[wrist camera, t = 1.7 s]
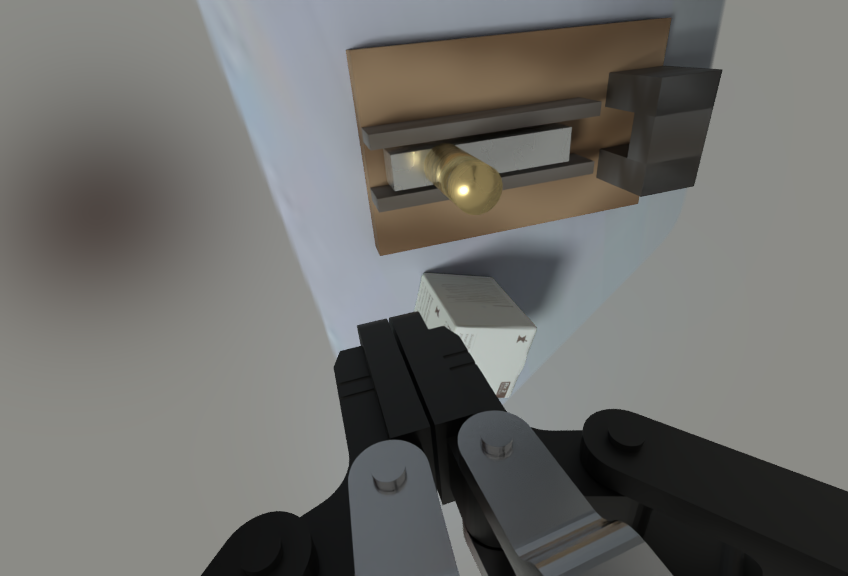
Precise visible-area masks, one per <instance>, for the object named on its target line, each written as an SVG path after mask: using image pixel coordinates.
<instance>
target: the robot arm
mask: <svg viewBox="0 0 848 576" xmlns="http://www.w3.org/2000/svg"><path fill="white" fill-rule="evenodd" d="M357 328H358V334H359V339H360V344H361V346H359V347H355V348H351V349H347V350H343V351H340V353H339V355H338V358H337V360H336V363H335V365H334V372H335V378H336V384H337V389H338V395H339V400H340V406H341V412H342V417H343V423H344V428H345V434H346V440H347V445H348V451H349V467H348V471H347V474H346V476H345V478H344V480H343V482H342V484H341V485H340V486H339V488H338V489H337V490H336V491H335V493H333V494H332V495H331V496H330V497H329V498H328V499H327V500H325V501H324V502H323V503H321V504H320V505H318V506H317V507H315V508H313V509H312V510H311V511H309V512H307V513H306V514H304V515H303V516H301V517H300V518H299V517H298V516H296V515H294V514H292V513H288V512H282V511H276V512H269V513H265V514H262V515H259V516H257V517H255V518H253V519H251V520H249V521H248V522H246V523H245V524H244V525H242V526H241V527H240V528H239V529H238V530H236V531H235V532H234V533H233V534H232V535H231V537H230V538H229V539H228V540H227V541H226V543H225V544H224V545H223V547H222V548H221V549H220V551H219V552H218V553H217V555H216V556H215V557H214V559H213V560H212V561H211V563H210V564H209V565H208V567H207V568H206V569H205V571H204V572H203V573H202V575H201V576H460V575H459V572H458V569H457V565H456V561H455V557H454V554H453V550H452V546H451V542H450V539H449V535H448V531H447V528H446V524H445V520H444V517H443V513H442V509H441V505H440V502H439V498H438V494H437V490H438V493H439V496H440V498H441V501H442V504H443V505H444V504H447V503H450V502H453V501H456V504H457V507H458V509H459V512H460V514H461V517H462V521H463V533H464V538H465V540H466V543H467V545H468V547H469V549H470V552H471V554H472V556H473V558H474V560H475V562H476V564H477V567H478V569H479V571H480V573H481V575H482V576H848V492H847V491H845V490H842V489H839V488H837V487H834V486H831V485H828V484H826V483H823V482H820V481H817V480H815V479H812V478H810V477H807V476H804V475H801V474H799V473H796V472H793V471H790V470H788V469H785V468H782V467H779V466H777V465H774V464H772V463H769V462H766V461H764V460H760V459H758V458H755V457H753V456H750V455H747V454H745V453H742V452H739V451H736V450H734V449H731V448H728V447H726V446H723V445H720V444H717V443H714V442H712V441H709V440H707V439H704V438H701V437H699V436H696V435H693V434H690V433H688V432H685V431H682V430H679V429H677V428H674V427H671V426H669V425H666V424H663V423H661V422H658V421H654V420H652V419H650V418H647V417H644V416H642V415H639V414H636V413H633V412H630V411H626V410H621V409H606V410H601V411H599V412H596V413H594V414H592V415H591V416H590V417H589V418H588V419H587V420H586V422H585V423H584V427H583V430H576V431H574V430H573V431H548V430H539V429H535V428H532V427H530V426H529V425H528V424H527V423H526V422H525V421H524V420H522V419H521V418H519V417H518V416H516V415H513V414H511V413H508V412H507V411H506V410H505V409H504V407H503V405H502V404H501V402H500V401H499V399H498V397H497V396H496V394H495V393H494V391H493V389H492V388H491V386H490V385H489V383H488V381H487V380H486V378H485V377H484V375H483V373H482V372H481V370H480V369H479V367H478V365H477V364H475V361H474V359H473V357H472V356H471V354H470V353H468V349H467V348H466V346H465V345H464V343H463V341H462V340H461V338H460V337H459V335H457V334H456V333H454V332H452V331H451V330H449V329H448V328H446V327H445V326H440V327H436V328H432V329H428V327H427V326H426V324H425V322H424V320H423V318H422V316H421V314H420V313H419V311H416V312H412V313H407V314H403V315H399V316H395V317H390V318H389V322H388V320H387V319H382V320H378V321H374V322H369V323H365V324H361V325H357Z"/></svg>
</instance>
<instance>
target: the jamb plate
mask: <svg viewBox="0 0 848 576" xmlns="http://www.w3.org/2000/svg"><path fill="white" fill-rule="evenodd" d="M670 23H671V18H658V19H646V20H637V21H627V22H617V23H607V24H597V25H587V26H578V27H568V28H558V29H548V30H538V31H528V32H519V33H509V34H499V35H489V36H479V37H469V38H460V39H450V40H440V41H430V42H420V43H410V44H400V45H391V46H381V47H371V48H361V49H351V50H346V54H347V61H348V67H349V74H350V80H351V87H352V93H353V100H354V107H355V113H356V120H357V126H358V133H359V139H360V146H361V153H362V159H363V166H364V172H365V179H366V185H367V192H368V199H369V205H370V212H371V218H372V225H373V231H374V238H375V245H376V248H377V250H378V252H379V255H380V256H383V255H388V254H393V253H397V252H402V251H407V250H412V249H417V248H422V247H427V246H432V245H437V244H442V243H447V242H452V241H457V240H462V239H466V238H471V237H476V236H481V235H486V234H491V233H496V232H501V231H506V230H511V229H516V228H521V227H526V226H530V225H535V224H540V223H545V222H550V221H555V220H560V219H565V218H570V217H575V216H580V215H585V214H590V213H595V212H599V211H604V210H609V209H614V208H619V207H624V206H629V205H634V204H638V201H639V196H640V197H642V196H647V195H652V194H657V193H662V192H667V191H672V190H677V189H682V188H687V187H692V186H694V183H695V180H696V176H697V172H698V168H699V164H700V159H701V155H702V151H703V147H704V143H705V139H706V135H707V131H708V127H709V123H710V119H711V114H712V110H713V106H714V102H715V98H716V94H717V90H718V86H719V82H720V78H721V74H722V70H719V69H705V68H690V67H674V66H663V62H664V57H665V51H666V46H667V40H668V34H669V29H670ZM549 123H560V124H563V125H566V126H570V127H572V131H571V142H570V153H569V161H567V162H561V163H555V164H550V165H544V166H538V167H532V168H527V169H521V170H515V171H509V172H503V173H499V174H500V176H501V179H502V183H503V188H502V194H501V197H500V199H499V201H498V202H497V204H496V205H495V206H494V207H493V208H492V209H491V210H489V211H488V212H486V213H484V214H481V215H470V214H467V213H465V212H463V211H462V210H461V209H460V208H459V207H458V206H457V205H455V204H454V203H453V202H452V201H451V200H450V199H449V198H448V197H447V196H446V195H444V194H443V193H442V192H441V191H440V190H439V189H438V188H437V187H436V186H435V185H428V186H422V187H417V188H411V189H405V190H399V191H394V190H393V188H392V187H391V186H390V185H389V183H388V182H387V176H386V169H385V161H384V153H383V149H384V148H391V147H397V146H404V145H411V144H417V143H424V142H430V141H437V140H444V139H450V138H457V137H464V136H470V135H477V134H483V133H490V132H497V131H503V130H510V129H516V128H523V127H530V126H536V125H543V124H549Z"/></svg>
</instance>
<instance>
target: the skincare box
mask: <svg viewBox="0 0 848 576" xmlns="http://www.w3.org/2000/svg"><path fill="white" fill-rule="evenodd" d="M416 311H419V313H420V314H421V316H422V318H423V320H424V322H425V324H426V326H427V327H428V329H432V328H436V327H440V326H445V327H446V328H448V329H449V330H451V331H452V332H454V333H456V334H457V335H459V337H460V338H461V340H462V341H463V343H464V345H465V346H466V348H467V349H468V353H470V354H471V356H472V357H473V359H474V361H475V364H477V365H478V367H479V369H480V370H481V372H482V373H483V375H484V377H485V378H486V380H487V381H488V383H489V385H490V386H491V388H492V389H493V391H494V393H495V394H496V396H497V397H498V398H508V397H510V395H511V393H512V390H513V388H514V386H515V383H516V381H517V378H518V376H519V374H520V372H521V371H522V369H523V367H524V364H525V362H526V358H527V354H528V351H529V349H530V346H531V344H532V341H533V339H534V336H535V333H536V331H537V327H536V326H535V325H534V323H533V322H532V321H531V320H530V319H529V318H528V317H527V316H526V315H525V314H524V313H523V312H522V310H521V309H520V308H519V307H518V306H517V305H516V304H515V303H514V301H513V300H512V299H511V298H510V297H509V296H508V295H507V294H506V292H505V291H504V290H503V289H502V288H501V287H500V286H499V285H498V283H497V282H496V281H495V280H494V279H493V278H492V277H482V276H467V275H453V274H438V273H423V275H422V278H421V284H420V288H419V293H418V297H417V301H416V305H415V309H414V312H416Z"/></svg>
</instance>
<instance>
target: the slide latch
mask: <svg viewBox="0 0 848 576" xmlns="http://www.w3.org/2000/svg"><path fill="white" fill-rule="evenodd" d="M571 131H572V127H570V126H566V125H563V124H560V123H549V124H543V125H536V126H530V127H523V128H516V129H510V130H503V131H497V132H490V133H483V134H477V135H470V136H464V137H457V138H450V139H444V140H437V141H430V142H424V143H417V144H411V145H404V146H397V147H391V148H384V149H383V153H384V161H385V169H386V176H387V182H388V183H389V185H390V186H391V187H392V188H393V190H394V191H399V190H405V189H411V188H417V187H422V186H428V185H435V186H436V187H437V188H438V189H439V190H440V191H441V192H442V193H443V194H444V195H446V196H447V197H448V198H449V199H450V200H451V201H452V202H453V203H454V204H455V205H457V206H458V207H459V208H460V209H461V210H462V211H463V212H465V213H467V214H470V215H481V214H484V213H486V212H488V211H489V210H491V209H492V208H493V207H494V206H495V205H496V204H497V202H498V201H499V199H500V197H501V194H502V188H503V183H502V179H501V176H500V174H499V173H503V172H509V171H515V170H521V169H527V168H532V167H538V166H544V165H550V164H555V163H561V162H567V161H569V153H570V142H571Z"/></svg>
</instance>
